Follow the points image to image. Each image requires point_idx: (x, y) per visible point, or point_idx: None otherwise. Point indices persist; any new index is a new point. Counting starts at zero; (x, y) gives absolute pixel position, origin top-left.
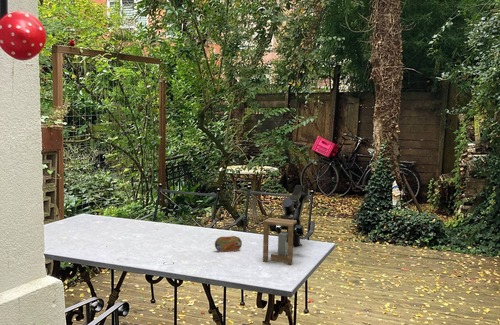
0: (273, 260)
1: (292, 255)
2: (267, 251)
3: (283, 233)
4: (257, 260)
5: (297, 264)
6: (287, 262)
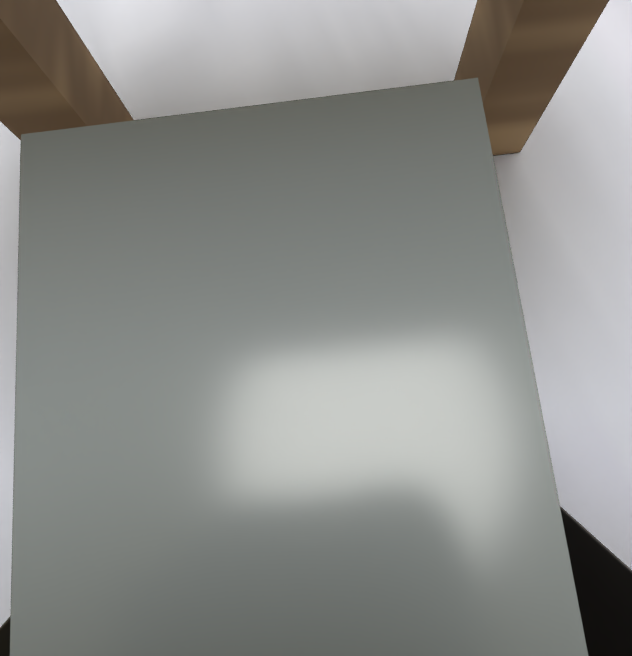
0: None
1: (11, 126)
2: (496, 4)
3: (289, 512)
4: (605, 102)
5: (12, 213)
6: (126, 113)
